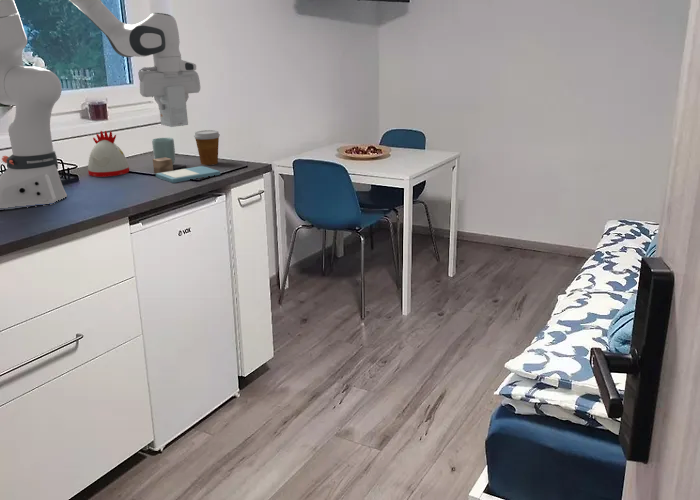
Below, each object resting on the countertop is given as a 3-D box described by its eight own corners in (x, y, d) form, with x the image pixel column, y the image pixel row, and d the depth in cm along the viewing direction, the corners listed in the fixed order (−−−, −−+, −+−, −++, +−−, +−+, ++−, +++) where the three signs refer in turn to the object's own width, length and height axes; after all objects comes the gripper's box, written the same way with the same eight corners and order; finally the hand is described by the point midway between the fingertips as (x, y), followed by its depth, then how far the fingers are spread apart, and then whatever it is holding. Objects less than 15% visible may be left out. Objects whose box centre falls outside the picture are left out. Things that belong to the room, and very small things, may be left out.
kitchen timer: (121, 176, 223) (115, 133, 218) (82, 177, 223) (75, 134, 218) (134, 168, 236) (129, 127, 231) (98, 168, 237) (91, 128, 232)
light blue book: (172, 182, 212) (172, 178, 211) (156, 176, 221) (155, 172, 221) (220, 174, 223) (220, 170, 222) (202, 169, 232) (202, 165, 232)
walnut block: (160, 175, 224) (158, 161, 223) (154, 173, 228) (152, 159, 226) (173, 173, 227) (171, 159, 226) (167, 170, 231) (165, 157, 229)
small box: (188, 125, 213) (184, 85, 209) (171, 127, 210) (166, 86, 205) (177, 122, 219) (173, 84, 215) (160, 124, 215) (156, 85, 211)
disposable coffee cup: (195, 166, 237) (192, 134, 233) (197, 161, 246) (194, 130, 242) (221, 165, 238) (218, 133, 234) (222, 160, 247) (220, 129, 243)
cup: (157, 164, 242) (153, 138, 239) (177, 163, 243) (175, 137, 240) (153, 168, 235) (150, 141, 232) (174, 167, 236) (171, 140, 233)
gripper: (141, 67, 199) (147, 112, 204) (200, 64, 212) (204, 106, 216) (133, 67, 204) (139, 110, 208) (191, 63, 216) (195, 105, 221)
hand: (172, 108), depth 213 cm, fingers closed on small box, 6 cm apart
